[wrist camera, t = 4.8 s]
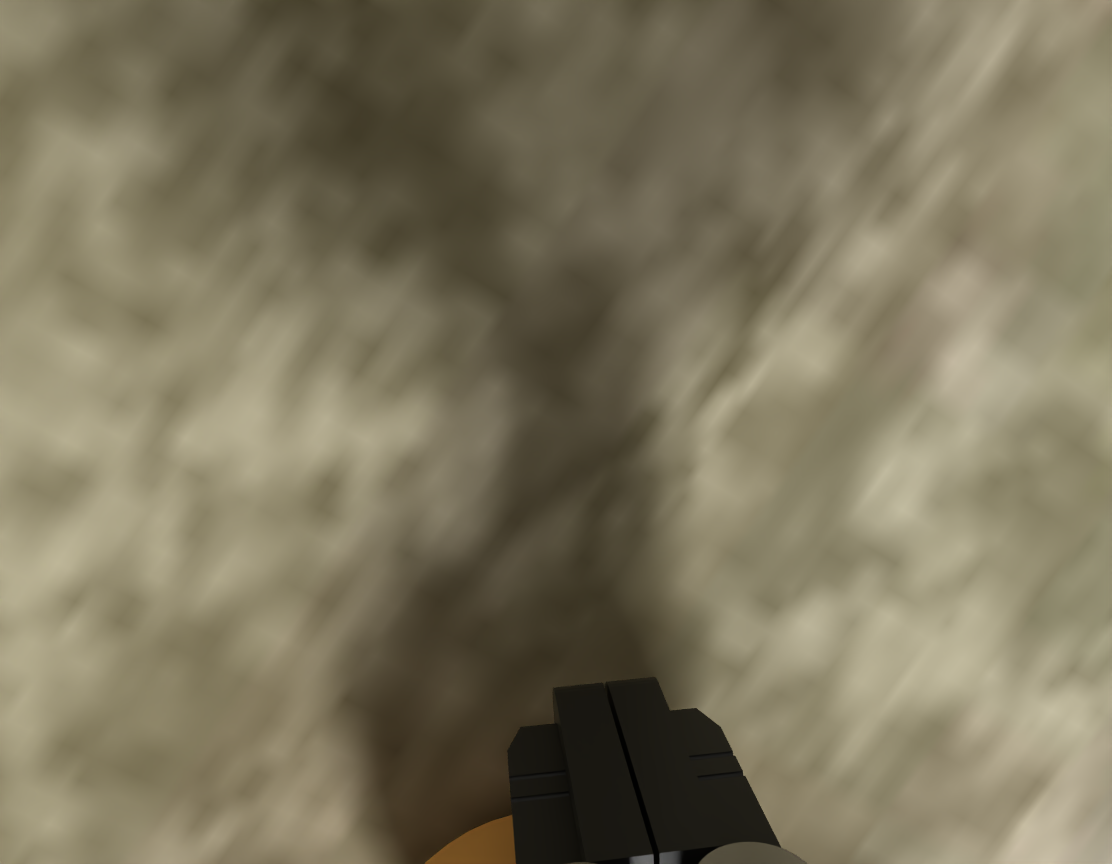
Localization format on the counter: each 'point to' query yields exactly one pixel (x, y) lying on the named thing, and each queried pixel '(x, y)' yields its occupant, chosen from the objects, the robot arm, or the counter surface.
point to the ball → (481, 845)
